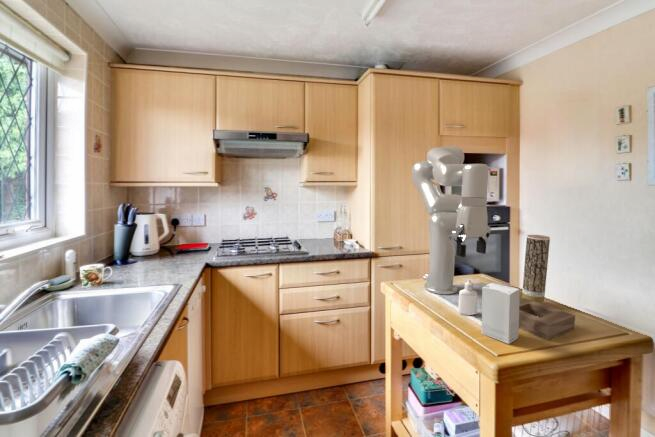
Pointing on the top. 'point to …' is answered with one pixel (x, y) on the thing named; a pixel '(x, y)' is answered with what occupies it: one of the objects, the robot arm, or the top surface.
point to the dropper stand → (544, 319)
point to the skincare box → (500, 312)
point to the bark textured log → (535, 268)
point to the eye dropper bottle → (467, 299)
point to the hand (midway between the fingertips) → (471, 254)
